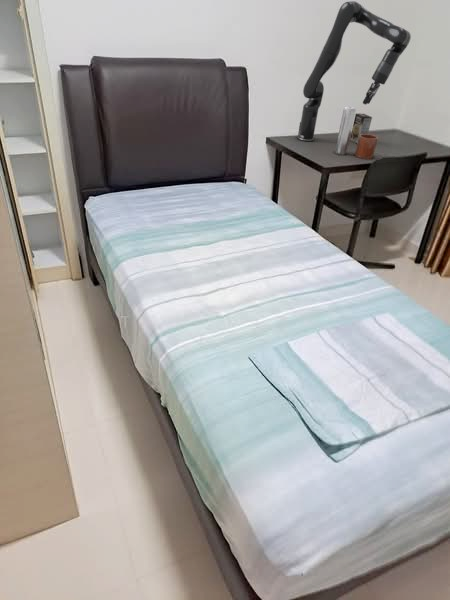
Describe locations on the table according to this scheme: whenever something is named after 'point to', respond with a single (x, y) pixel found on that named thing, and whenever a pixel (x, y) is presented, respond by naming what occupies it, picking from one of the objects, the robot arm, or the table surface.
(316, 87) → the robot arm
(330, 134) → the table surface
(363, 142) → the cup
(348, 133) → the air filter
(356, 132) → the coffee box
